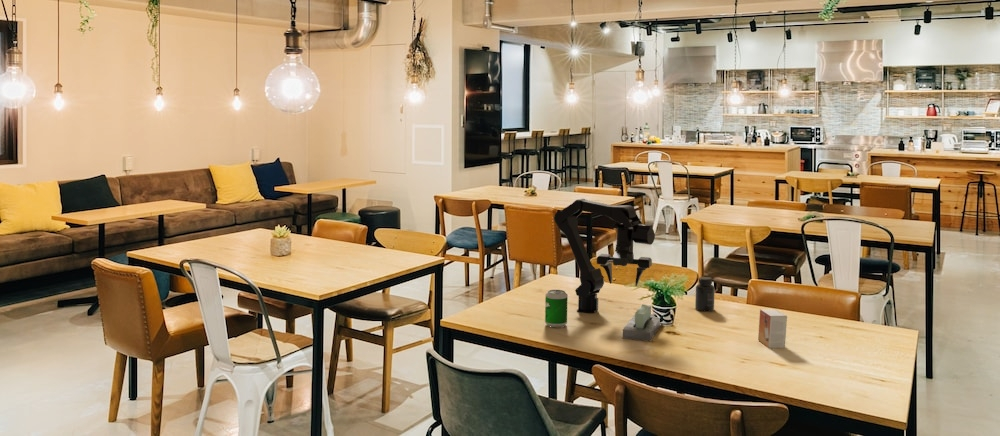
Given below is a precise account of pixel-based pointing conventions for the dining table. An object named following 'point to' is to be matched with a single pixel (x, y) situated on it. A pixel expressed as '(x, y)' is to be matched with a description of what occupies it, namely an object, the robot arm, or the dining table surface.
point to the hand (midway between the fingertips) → (623, 284)
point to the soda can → (556, 308)
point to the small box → (772, 328)
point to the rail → (641, 329)
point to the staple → (642, 315)
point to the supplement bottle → (705, 295)
